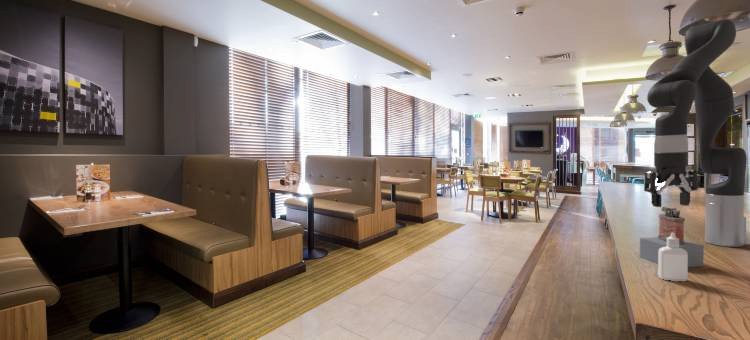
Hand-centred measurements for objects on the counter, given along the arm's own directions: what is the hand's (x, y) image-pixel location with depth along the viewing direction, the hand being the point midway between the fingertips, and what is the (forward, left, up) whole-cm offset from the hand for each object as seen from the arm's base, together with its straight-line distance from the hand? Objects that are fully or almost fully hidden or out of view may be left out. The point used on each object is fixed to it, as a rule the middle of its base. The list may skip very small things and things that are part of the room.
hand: (670, 205), depth 100 cm
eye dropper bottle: (+12, +13, -17) cm, 24 cm away
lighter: (0, 0, -11) cm, 11 cm away
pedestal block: (0, 0, -17) cm, 17 cm away
